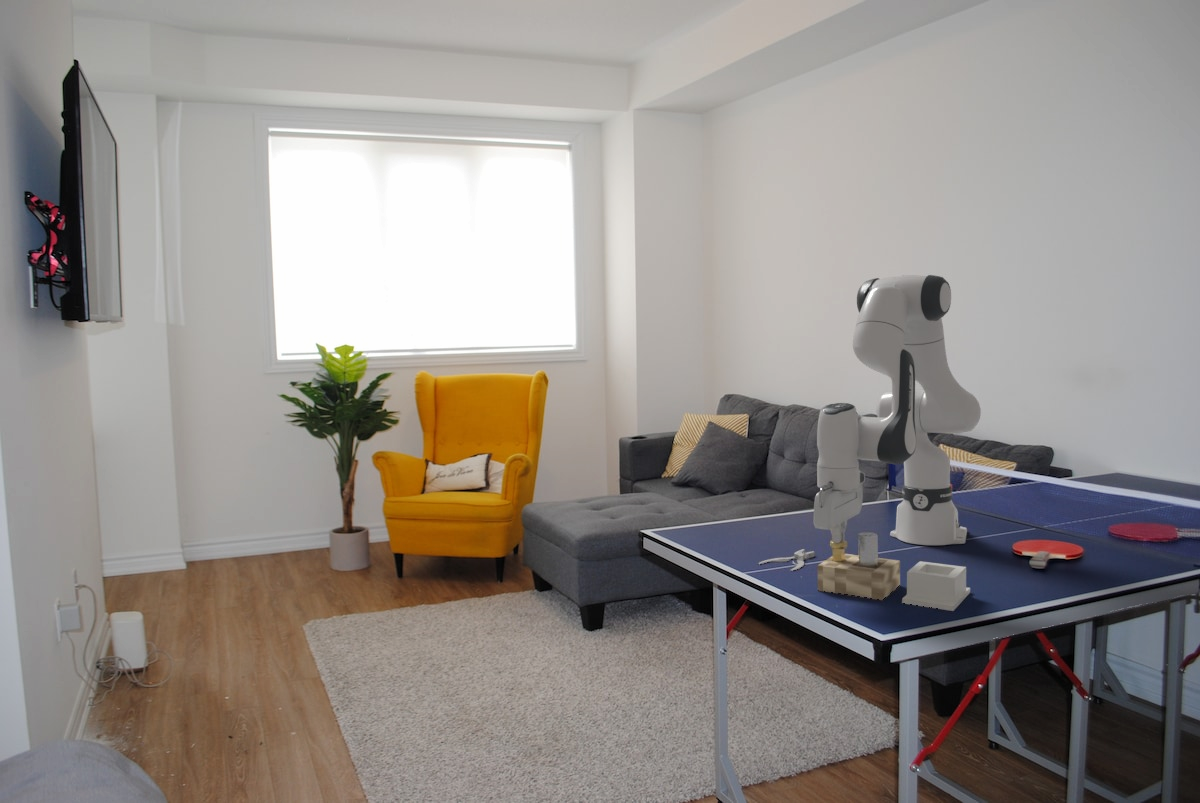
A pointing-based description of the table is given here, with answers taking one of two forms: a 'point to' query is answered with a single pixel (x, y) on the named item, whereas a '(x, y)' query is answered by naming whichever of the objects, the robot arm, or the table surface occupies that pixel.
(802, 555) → the pliers
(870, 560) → the grey rounded cylinder
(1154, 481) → the table surface
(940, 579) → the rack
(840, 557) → the key
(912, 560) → the table surface
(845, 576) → the socket block
